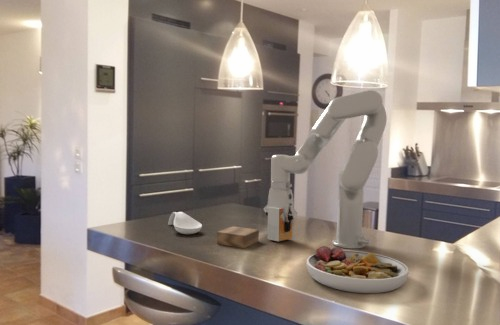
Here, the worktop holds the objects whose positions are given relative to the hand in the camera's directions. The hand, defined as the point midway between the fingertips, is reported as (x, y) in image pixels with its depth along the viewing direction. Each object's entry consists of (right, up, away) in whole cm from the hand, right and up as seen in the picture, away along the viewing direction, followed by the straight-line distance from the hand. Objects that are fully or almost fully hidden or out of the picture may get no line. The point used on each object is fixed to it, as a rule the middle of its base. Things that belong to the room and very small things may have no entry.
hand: (279, 229), depth 187 cm
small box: (0, -4, 0) cm, 4 cm away
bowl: (+20, -9, -45) cm, 50 cm away
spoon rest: (-41, -3, +14) cm, 44 cm away
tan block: (-17, -5, -5) cm, 18 cm away
